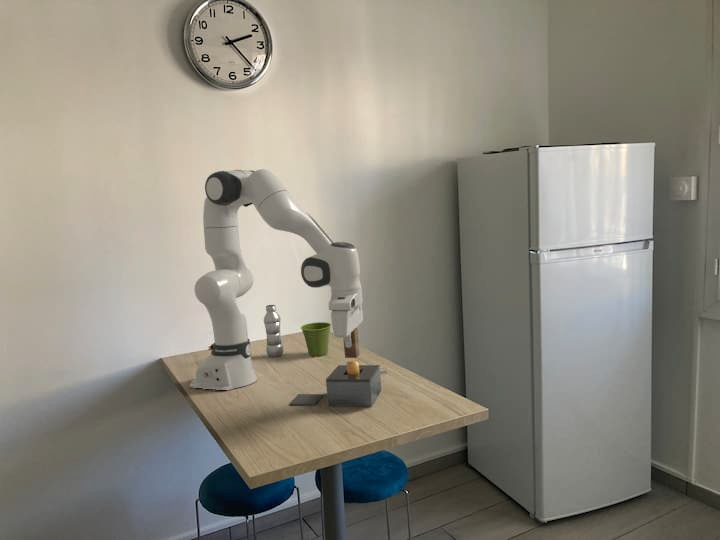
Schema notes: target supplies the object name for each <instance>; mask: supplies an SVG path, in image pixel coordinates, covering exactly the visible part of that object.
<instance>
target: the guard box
mask: <svg viewBox="0 0 720 540" xmlns="http://www.w3.org/2000/svg"><path fill="white" fill-rule="evenodd" d="M380 366H381V365H380V364H377V365H375V364H374V365H372V364H370V365H368V364H367V365H366V364H365V365H363V364H361V365H360V364H359V372H360V375H347V364H344V365H342V364H341V365H340V364H339V365H337V366H336V367H335V368H334V369H333V371H332V372H331V373H330V374H329V375H328V376H327V378H325V384H326V394H327V398H326V399H327V406H328V407H361V406H363V408H364V407H366V408H368V407H369V408H370V407H373V406H374V404H375V402H376V400H377V399H378V397H379V396H380V394H381V392H382V382H381V380H382V379H381V374H380Z"/></svg>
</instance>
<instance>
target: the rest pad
mask: <svg viewBox="0 0 720 540" xmlns="http://www.w3.org/2000/svg"><path fill="white" fill-rule="evenodd" d="M323 397H324V394H323V393H322V394H321V393H316V394H315V393H307V394H306V393H298V394H297V395H296V396H295V397H294V398H293V399H292V400H291V401H290V402H289V403H288V405H289V406H300V407H301V406H302V407H303V406H304V407H305V406H310V407H312V406H316V405H317V404H318V403H319V402H320V401H321V399H323Z"/></svg>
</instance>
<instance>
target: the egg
mask: <svg viewBox="0 0 720 540" xmlns="http://www.w3.org/2000/svg"><path fill="white" fill-rule="evenodd" d="M346 365H347V375H360V372H359V365H360V362H359V361H358V360H356V359H355V360H348V361H346Z"/></svg>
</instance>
